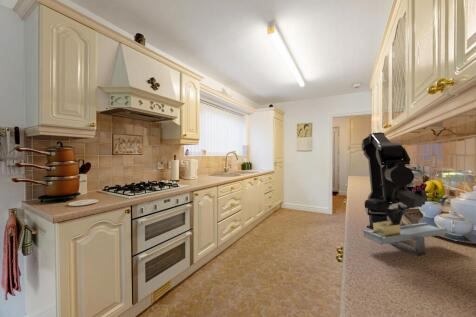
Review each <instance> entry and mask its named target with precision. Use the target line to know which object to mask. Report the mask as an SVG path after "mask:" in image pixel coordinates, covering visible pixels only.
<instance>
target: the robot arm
mask: <svg viewBox="0 0 476 317" xmlns="http://www.w3.org/2000/svg"><path fill="white" fill-rule="evenodd" d="M361 151H362V152H363V155H364V156H365V158H366V159H367V160H368V169H369V170H368V173H369V184H370V193H369V194H368V196H367V199H365V200H364V203H363V204H364V208H365V214H366V215H367V216H368V218H369V219H368V220H369V225H366V228H369V229H371V230H373V223H376V222H383V221H388V220H387V216H388V217H389V218H390V220H391V222H393V223H396V224H400V221H401V218H402V219H403V216H404V213H405V212H406V211H409V210H410V209H415V208H421V207H423V206H424V205H426V202H428V195H427V192H426V190H424V189H417V190H416V191H415V190H409V188H408V185H410V184H411V183H412V182H413V181H414V179H415V174H414V172H413V171H412V169H411V168H409V167H407V166H408V165H409V166H410V165H411V158H410V155H409V154H408V152H407V150H406V148H405V147H403V145H402V144H400V143H397V142H391V140H390V139H389V138H387V137H386V134H385V133H384V132H382V131H381V132H379V131H378V132H371V133H369V134H368V135H367V136H366V137H365V138H363V139H362V142H361Z"/></svg>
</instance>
